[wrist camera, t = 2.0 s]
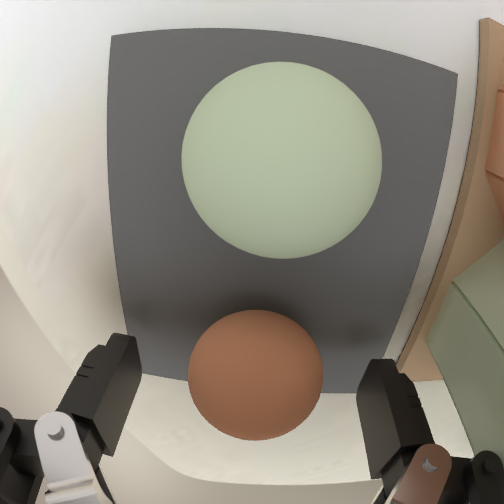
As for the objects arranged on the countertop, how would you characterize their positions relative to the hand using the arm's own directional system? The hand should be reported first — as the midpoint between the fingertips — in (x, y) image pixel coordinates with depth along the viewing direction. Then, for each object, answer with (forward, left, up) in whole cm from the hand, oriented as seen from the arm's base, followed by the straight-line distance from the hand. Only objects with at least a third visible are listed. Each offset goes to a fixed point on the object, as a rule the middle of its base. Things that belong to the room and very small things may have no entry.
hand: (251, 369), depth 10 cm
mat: (0, -3, -3) cm, 4 cm away
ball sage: (0, -7, -2) cm, 7 cm away
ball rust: (0, 0, -2) cm, 2 cm away
